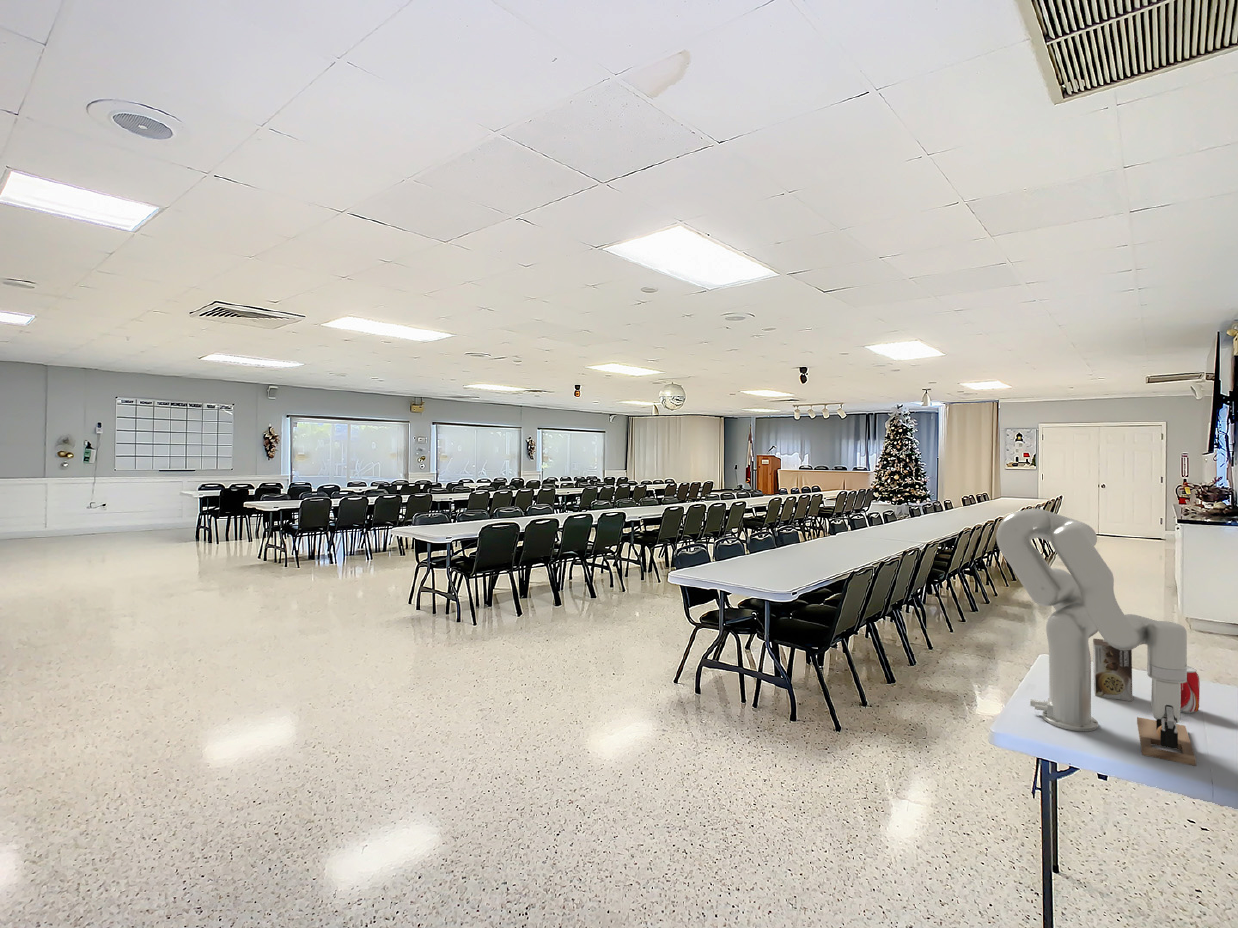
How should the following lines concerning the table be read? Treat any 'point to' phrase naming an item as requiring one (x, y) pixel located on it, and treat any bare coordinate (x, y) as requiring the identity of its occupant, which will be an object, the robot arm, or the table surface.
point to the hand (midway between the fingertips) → (1166, 739)
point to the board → (1151, 737)
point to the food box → (1112, 671)
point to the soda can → (1190, 692)
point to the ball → (1159, 730)
